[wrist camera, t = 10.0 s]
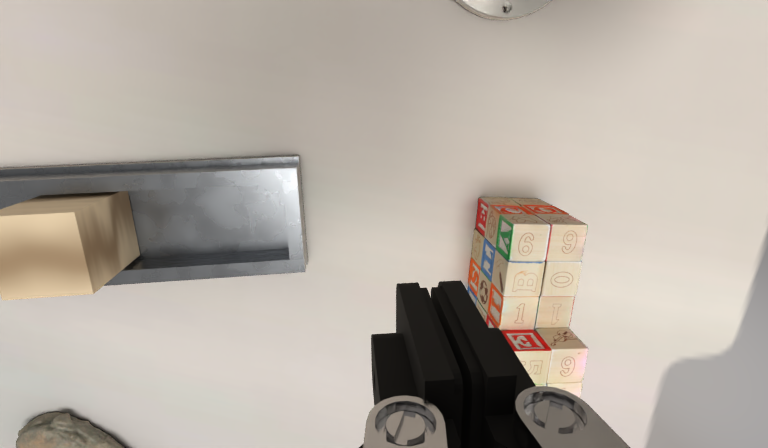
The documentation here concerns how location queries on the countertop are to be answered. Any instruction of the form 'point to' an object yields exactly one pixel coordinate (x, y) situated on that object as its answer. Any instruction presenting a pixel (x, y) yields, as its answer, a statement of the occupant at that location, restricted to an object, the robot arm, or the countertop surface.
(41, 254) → the block
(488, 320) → the stack of blocks
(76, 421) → the long grey stone
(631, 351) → the countertop surface
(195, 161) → the chute
